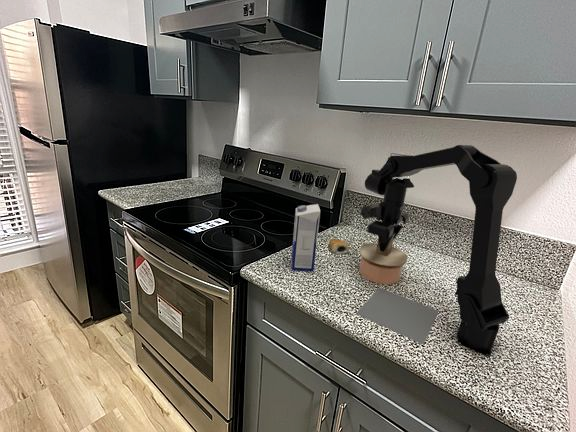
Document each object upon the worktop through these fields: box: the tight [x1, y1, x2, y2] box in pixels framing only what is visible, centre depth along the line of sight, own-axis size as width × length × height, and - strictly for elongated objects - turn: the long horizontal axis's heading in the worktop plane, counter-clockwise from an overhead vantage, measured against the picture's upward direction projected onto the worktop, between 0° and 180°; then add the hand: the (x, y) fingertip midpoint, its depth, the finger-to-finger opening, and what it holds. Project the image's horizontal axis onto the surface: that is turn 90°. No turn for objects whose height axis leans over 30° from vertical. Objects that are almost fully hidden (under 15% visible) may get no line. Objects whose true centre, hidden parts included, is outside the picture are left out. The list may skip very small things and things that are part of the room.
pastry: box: [328, 238, 350, 255], centre depth 113 cm, size 9×7×4 cm
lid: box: [358, 238, 408, 266], centre depth 93 cm, size 14×14×6 cm
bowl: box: [359, 255, 404, 286], centre depth 96 cm, size 12×12×6 cm
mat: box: [355, 287, 440, 345], centre depth 78 cm, size 16×16×1 cm
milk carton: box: [290, 203, 321, 273], centre depth 95 cm, size 7×7×20 cm
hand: (384, 249), depth 93 cm, fingers closed on lid, 3 cm apart
